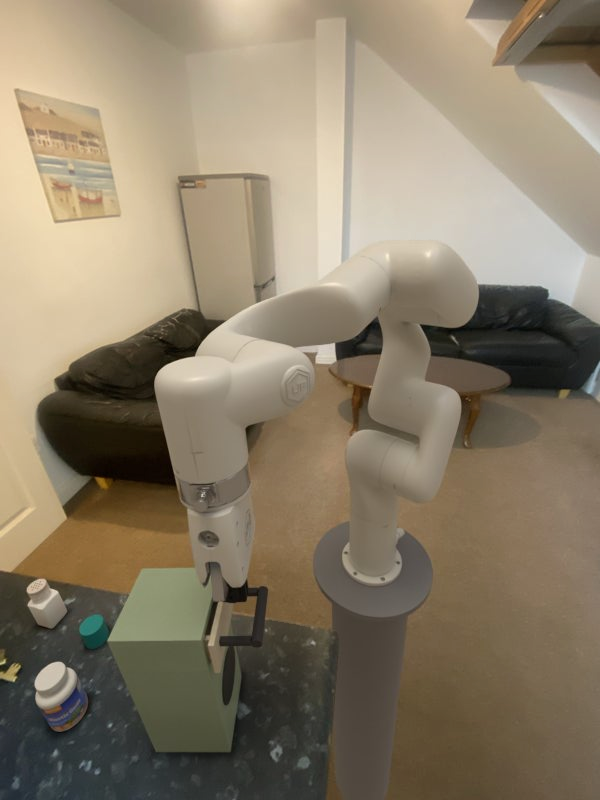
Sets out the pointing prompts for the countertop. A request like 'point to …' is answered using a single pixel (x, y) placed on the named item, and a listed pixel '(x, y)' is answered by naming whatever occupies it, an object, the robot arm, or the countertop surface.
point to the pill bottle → (60, 696)
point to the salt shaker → (45, 604)
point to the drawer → (220, 625)
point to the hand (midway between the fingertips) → (235, 596)
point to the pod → (94, 631)
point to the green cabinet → (176, 663)
